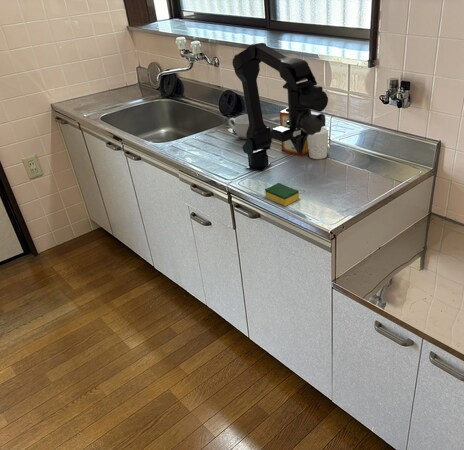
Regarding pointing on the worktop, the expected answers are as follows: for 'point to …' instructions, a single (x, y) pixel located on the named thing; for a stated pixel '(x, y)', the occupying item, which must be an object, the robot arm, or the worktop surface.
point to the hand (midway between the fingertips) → (299, 153)
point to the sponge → (282, 194)
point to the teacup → (240, 125)
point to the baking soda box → (288, 145)
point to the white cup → (318, 144)
